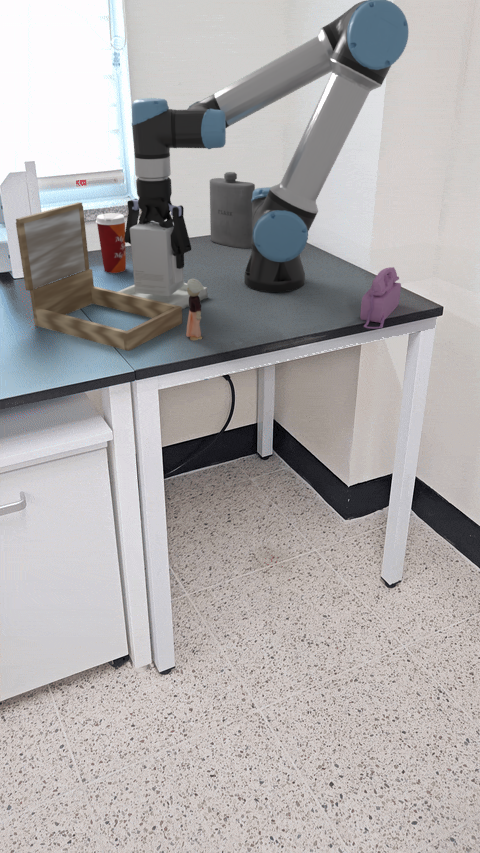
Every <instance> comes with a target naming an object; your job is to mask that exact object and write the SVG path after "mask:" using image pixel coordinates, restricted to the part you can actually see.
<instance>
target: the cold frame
mask: <svg viewBox="0 0 480 853" xmlns="http://www.w3.org/2000/svg"><path fill="white" fill-rule="evenodd" d="M84 214H85V213H84V206H83V202H81V201H80V202H74V203H70V204H67V205H63V206H59V207H56V208H52V209H48V210H44V211H40V212H36V213H32V214H29V215H25V216H21V217H17V218H15V221H16V222H15V226H16V234H17V240H18V248H19V255H20V261H21V268H22V272H23V280H24V288H25V290H26V291H29V293H30V300H31V306H32V314H33V319H34V320H33V321H34V326H35V327H39V328H43V329H47V330H50V331H53V332H58V333H60V334H61V333H62V334H64V335H68V336H71V337H76V338H79V339H84V340H87V341H90V342H94V343H96V344H97V343H98V344H101V345H105V346H109V347H113V348H117V349H120V350H124V351H127V352H130V351H132V350H134V349H136V348H138V347H139V346H141V345H143V344H145V343H147V342H149V341H151V340H153V339H155V338H156V337H159V336H161V335H163V334H164V333H166V332H168V331H170V330H173V329H174V328H175V327H178V326H179V325H181V324H183V310H182V307H181V306H177V305H172V304H168V303H164V302H159V301H155V300H151V299H146V298H142V297H138V296H133V295H129V294H125V293H120V292H118V291H116V290H115V291H114V290H111V289H108V288H107V289H106V288H103V287H98V286H94V285H95V284H94V275H93V269H92V268H90V261H89V251H88V242H87V232H86V224H85V223H86V222H85V221H86V220H85V215H84ZM91 305H97V306H102V307H105V308H109V309H112V310H113V309H114V310H116V311H117V310H118V311H122V312H126V313H129V314H134V315H138V316H142V317H147V318H150V319H148V320H146V321H144V322H142V323H139V324H138V325H135V326H134V327H132V328H130V329H128V330H123V329H121V328H117V327H114V326H109V325H106V324H101V323H98V322H94V321H90V320H86V319H83V318H79V317H76V316H70V315H69V314H71V313H74V312H76V311H78V310H81V309H83V308H85V307H88V306H91Z"/></svg>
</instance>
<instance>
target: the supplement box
mask: <svg viewBox="0 0 480 853" xmlns="http://www.w3.org/2000/svg"><path fill="white" fill-rule="evenodd" d="M173 225H174V223H173ZM173 228H174V227H170V228H163V227H161V226H160V225H159V223H157V222H154V221H150V222H148V223H145V224H138V223H137V225H135V226H133V227H131V228H130V238H131V244H130V247H131V260H132V270H133V285H134V286H135V293H142V294H151V295H160V296H171V295H172V294H173V293H174V292H176V291H177V290H178V289H180V288H181V287H182V286H183V285H184V283H185V280H184V278H185V277H184V267H183V268H182V281H180V282H178V283H176V284H175V283H173V278H172V257H171V255H172V254H174V251H173V249H172V247H171V233H172V231H173ZM178 249H179V248H178Z"/></svg>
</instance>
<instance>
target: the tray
mask: <svg viewBox="0 0 480 853" xmlns="http://www.w3.org/2000/svg"><path fill="white" fill-rule="evenodd" d="M187 288H188V285H187V282H184V285H183V286H182V287H181V288H180V289H178V290H177V291H176V292H174V293H173V294H172V295H171V296H160V295H151V294H142V293H135V286H134V284H132V285H130V286H128V287H125V288H122V289H120V290H118V291H117V292H120V293H125V294H129V295H133V296H138V297H142V298H146V299H151V300H155V301H159V302H164V303H168V304H172V305H177V306H181V307H182V311H183V310H185V309H187V308H188V307H189V297H190V295H189V294H188V292H187ZM203 288H204V289H203V291H200V293H199V295H198V296H199V299H200V302H201V301H203V300H206V299H207V298H208V294H209V293H208V287H207V286H203Z"/></svg>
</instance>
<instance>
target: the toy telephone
mask: <svg viewBox="0 0 480 853" xmlns="http://www.w3.org/2000/svg"><path fill="white" fill-rule="evenodd" d="M374 277H375V278H373V280H372V284H371V286H370V288H369V289H368V291H366V292H365V294H363V296H362V298H361V304H360V315H359V316H360V320H361V321H362V320H363V321H366V322H365V323H364V325H363V328H366V329H374V330H375V329H382V328H383V327H384V323H385V320H386V319H387V318H388V317H389V316H390V314H392V313H393V312H394V310H395V309H397V307H398V306H399V303H400V299H401V292H402V283H400V282H397V281H399V280H400V277H399V276H398V274H397V271H396V269H395V267H393V266H392V267H386V268H383V269H381V270H380V271H379V272H378V273H377V275H376V276H374ZM370 322H373V323H374V322H375V323H380V324H379V326H368V325H369V324H370Z"/></svg>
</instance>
